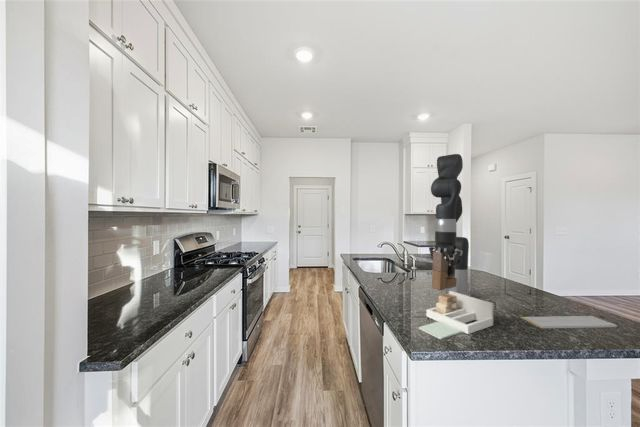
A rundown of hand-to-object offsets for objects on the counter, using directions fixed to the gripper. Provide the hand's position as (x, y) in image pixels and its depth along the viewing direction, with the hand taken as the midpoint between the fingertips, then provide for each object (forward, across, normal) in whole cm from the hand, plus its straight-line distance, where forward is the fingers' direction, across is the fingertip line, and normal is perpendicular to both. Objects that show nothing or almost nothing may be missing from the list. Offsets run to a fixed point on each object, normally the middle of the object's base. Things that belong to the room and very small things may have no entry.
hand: (445, 274), depth 101 cm
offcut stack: (+22, +9, -13) cm, 27 cm away
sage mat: (+22, +1, +2) cm, 22 cm away
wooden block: (+5, 0, 0) cm, 5 cm away
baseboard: (+22, -18, -52) cm, 59 cm away
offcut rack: (+22, +3, -13) cm, 26 cm away
